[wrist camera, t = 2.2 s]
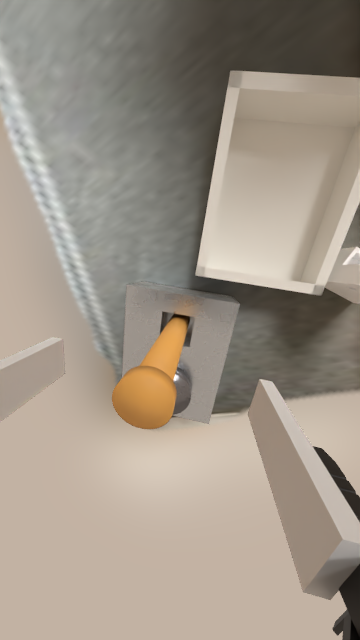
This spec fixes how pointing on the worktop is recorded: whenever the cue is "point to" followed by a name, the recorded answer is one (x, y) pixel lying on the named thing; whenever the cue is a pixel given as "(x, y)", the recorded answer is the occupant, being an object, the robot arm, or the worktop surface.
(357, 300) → the white wedge bracket
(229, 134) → the tray
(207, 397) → the block
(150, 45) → the worktop surface
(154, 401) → the lock pin
